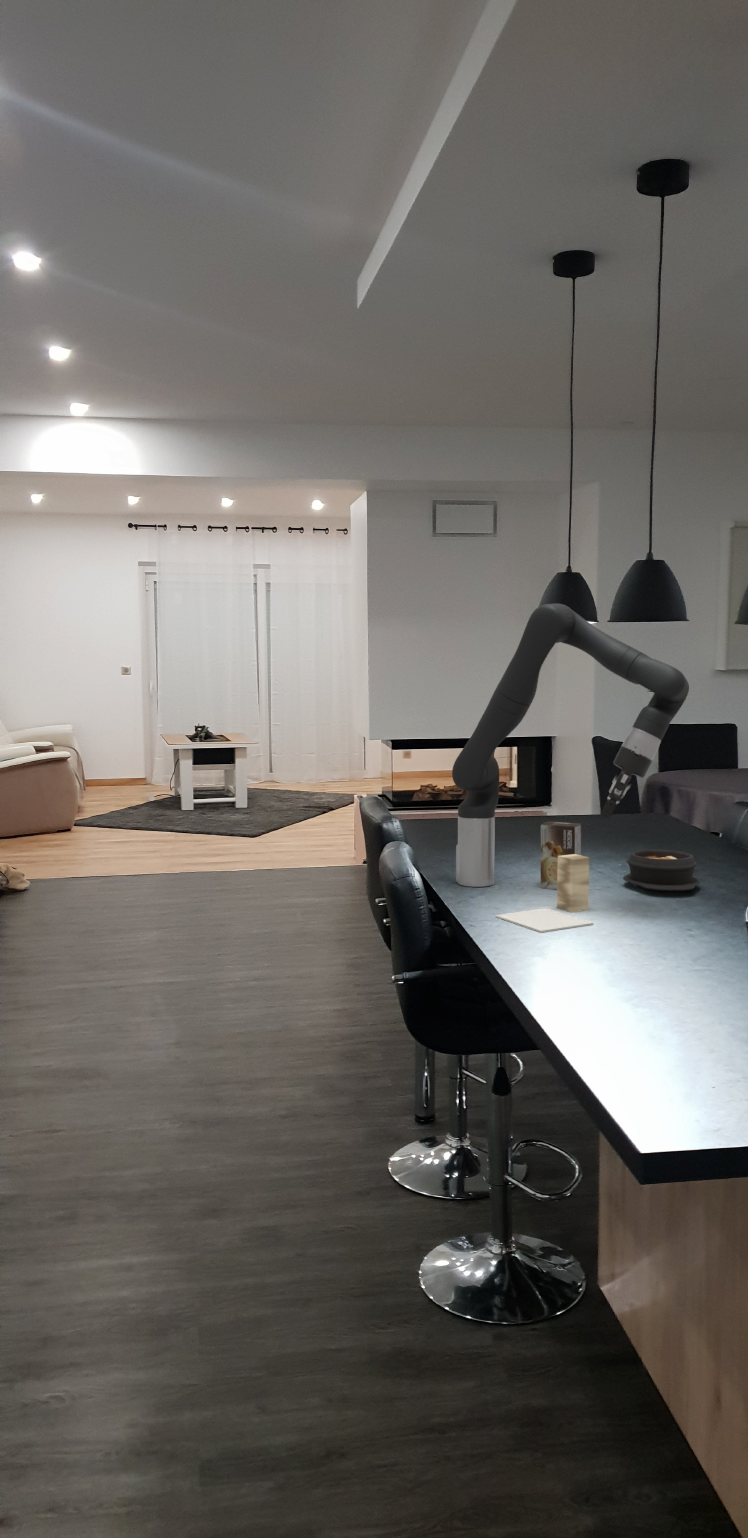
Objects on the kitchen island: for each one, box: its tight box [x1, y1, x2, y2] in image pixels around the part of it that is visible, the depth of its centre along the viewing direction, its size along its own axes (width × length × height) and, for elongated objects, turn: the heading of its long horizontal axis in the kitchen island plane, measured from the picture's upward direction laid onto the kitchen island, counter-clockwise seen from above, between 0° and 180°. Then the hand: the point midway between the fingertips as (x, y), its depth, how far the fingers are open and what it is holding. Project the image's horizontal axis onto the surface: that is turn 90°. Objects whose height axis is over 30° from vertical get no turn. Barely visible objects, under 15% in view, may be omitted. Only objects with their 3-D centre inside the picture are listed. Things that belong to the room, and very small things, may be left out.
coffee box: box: [540, 820, 583, 890], centre depth 264 cm, size 9×6×16 cm
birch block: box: [556, 854, 590, 913], centre depth 241 cm, size 5×5×12 cm
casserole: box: [622, 849, 701, 892], centre depth 265 cm, size 25×19×8 cm
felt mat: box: [495, 907, 594, 934], centre depth 230 cm, size 16×14×1 cm
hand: (604, 817), depth 238 cm, fingers open, 8 cm apart
